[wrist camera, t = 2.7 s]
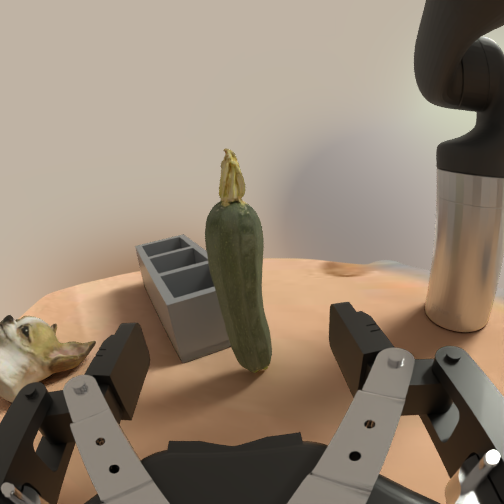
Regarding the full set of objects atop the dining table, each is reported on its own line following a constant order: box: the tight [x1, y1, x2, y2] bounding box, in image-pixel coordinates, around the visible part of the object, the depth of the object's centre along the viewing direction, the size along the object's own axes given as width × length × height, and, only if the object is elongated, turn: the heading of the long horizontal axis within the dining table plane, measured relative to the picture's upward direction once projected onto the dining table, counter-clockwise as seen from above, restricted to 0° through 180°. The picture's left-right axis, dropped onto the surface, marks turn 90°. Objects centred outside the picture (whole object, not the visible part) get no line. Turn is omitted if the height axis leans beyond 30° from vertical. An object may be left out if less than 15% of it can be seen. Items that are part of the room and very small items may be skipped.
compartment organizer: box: [136, 234, 231, 363], centre depth 40 cm, size 24×8×7 cm, turn 28°
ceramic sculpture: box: [0, 315, 96, 402], centre depth 25 cm, size 11×9×15 cm
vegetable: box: [205, 149, 272, 373], centre depth 24 cm, size 4×4×20 cm
